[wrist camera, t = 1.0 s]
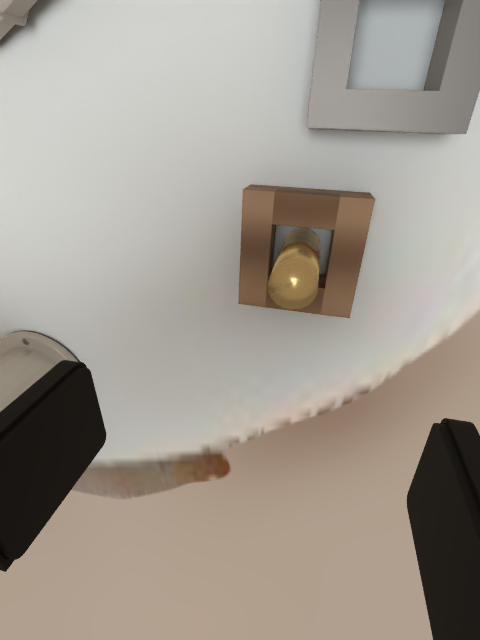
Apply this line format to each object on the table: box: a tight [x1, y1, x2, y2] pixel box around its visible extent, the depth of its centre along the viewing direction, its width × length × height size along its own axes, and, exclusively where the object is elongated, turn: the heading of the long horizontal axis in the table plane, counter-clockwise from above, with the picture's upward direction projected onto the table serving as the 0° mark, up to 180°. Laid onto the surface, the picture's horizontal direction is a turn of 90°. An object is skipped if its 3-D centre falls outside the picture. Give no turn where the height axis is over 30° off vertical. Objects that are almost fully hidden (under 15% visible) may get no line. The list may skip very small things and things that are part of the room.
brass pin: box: [268, 228, 320, 310], centre depth 25 cm, size 3×3×9 cm
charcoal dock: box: [307, 0, 480, 134], centre depth 20 cm, size 9×9×4 cm
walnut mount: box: [239, 185, 375, 318], centre depth 27 cm, size 9×9×3 cm
